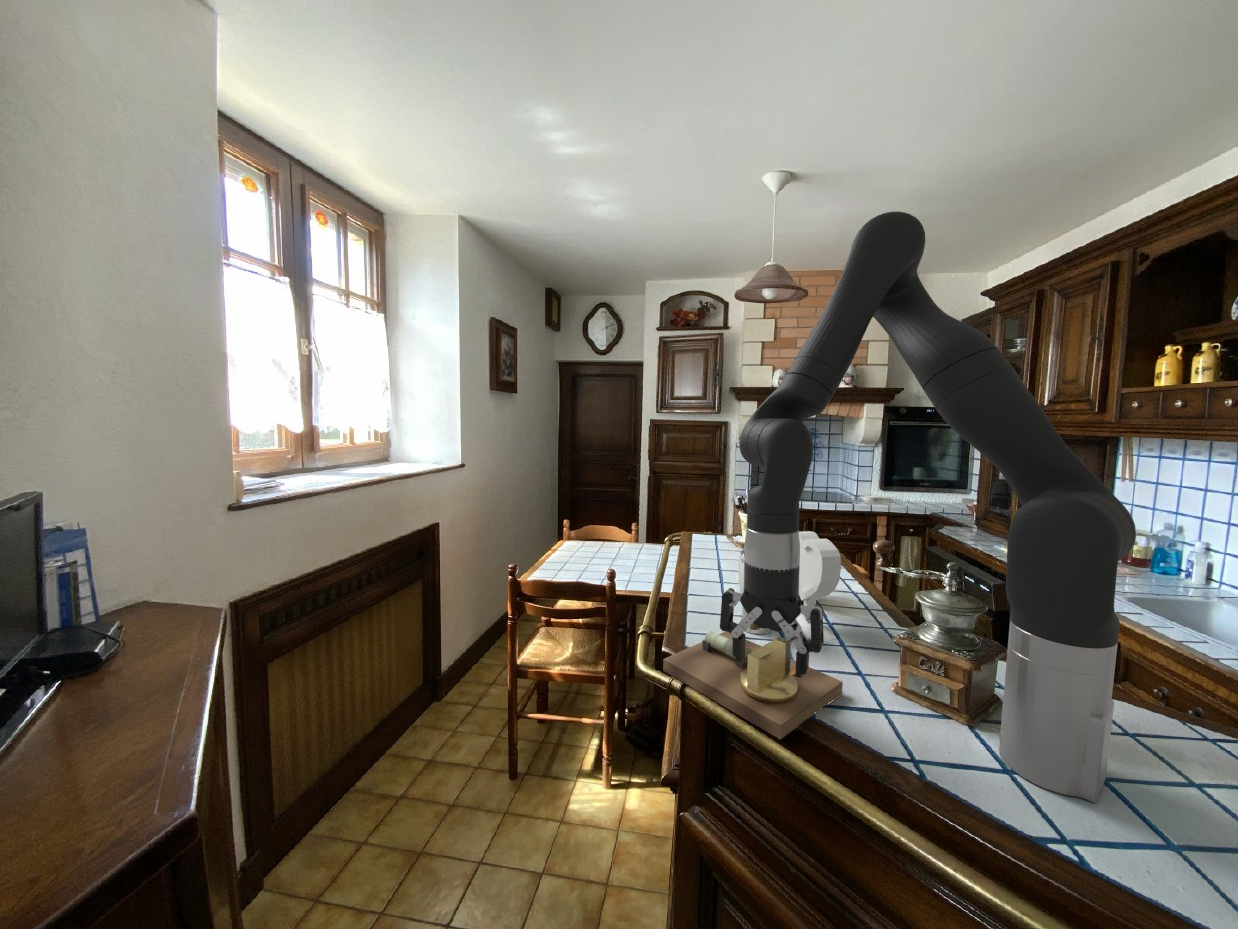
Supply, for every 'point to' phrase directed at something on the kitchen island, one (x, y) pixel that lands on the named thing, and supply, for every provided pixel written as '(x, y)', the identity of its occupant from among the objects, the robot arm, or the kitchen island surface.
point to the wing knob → (770, 673)
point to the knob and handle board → (720, 680)
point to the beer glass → (752, 627)
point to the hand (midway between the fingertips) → (769, 667)
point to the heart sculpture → (817, 574)
